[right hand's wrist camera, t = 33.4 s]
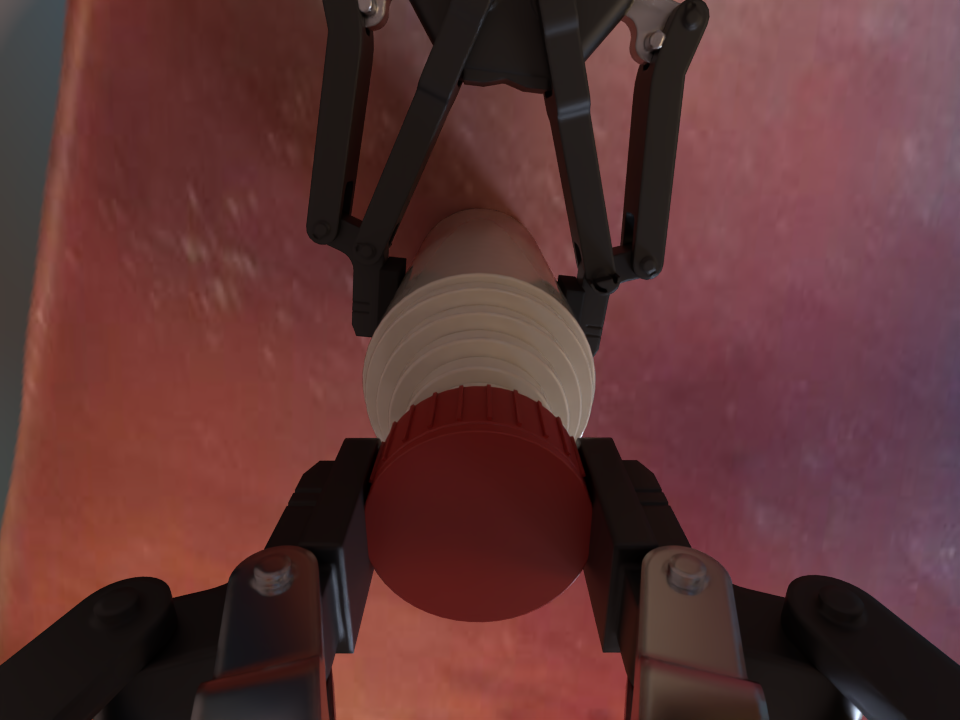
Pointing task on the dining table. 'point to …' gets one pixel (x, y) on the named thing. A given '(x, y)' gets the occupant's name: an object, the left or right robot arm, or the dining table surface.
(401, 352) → the bottle
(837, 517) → the dining table surface
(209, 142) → the dining table surface
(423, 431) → the cap
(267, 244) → the dining table surface
